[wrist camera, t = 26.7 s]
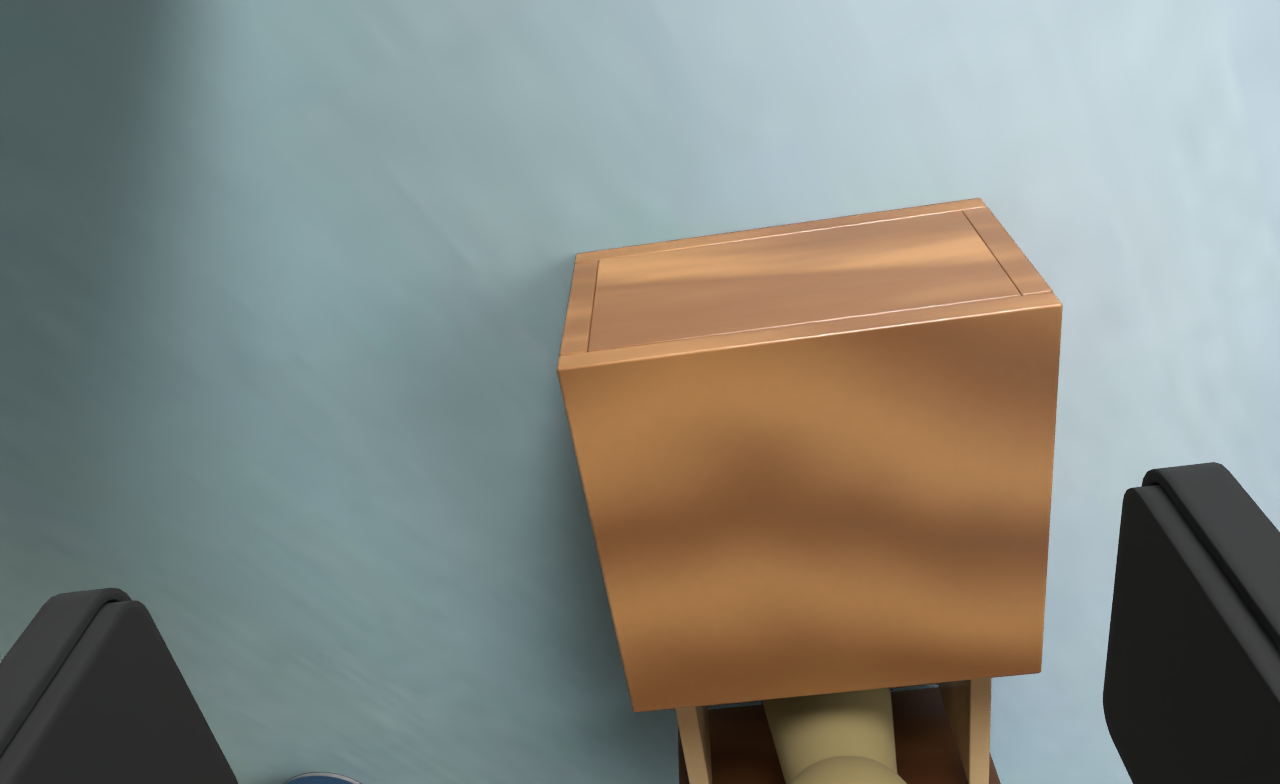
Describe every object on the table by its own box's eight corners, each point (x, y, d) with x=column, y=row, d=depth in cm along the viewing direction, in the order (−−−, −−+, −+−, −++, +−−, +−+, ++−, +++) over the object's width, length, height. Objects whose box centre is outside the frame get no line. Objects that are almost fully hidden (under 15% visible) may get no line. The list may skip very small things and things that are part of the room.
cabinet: (976, 521, 45) (1041, 673, 37) (637, 559, 46) (633, 713, 38) (980, 197, 37) (1063, 304, 30) (575, 252, 38) (555, 369, 31)
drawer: (965, 793, 52) (1005, 924, 46) (697, 817, 53) (702, 947, 47) (968, 467, 42) (1019, 580, 36) (637, 505, 43) (634, 621, 37)
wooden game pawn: (878, 582, 44) (940, 804, 34) (892, 682, 47) (952, 913, 37) (736, 604, 44) (758, 828, 35) (759, 701, 47) (785, 932, 38)
